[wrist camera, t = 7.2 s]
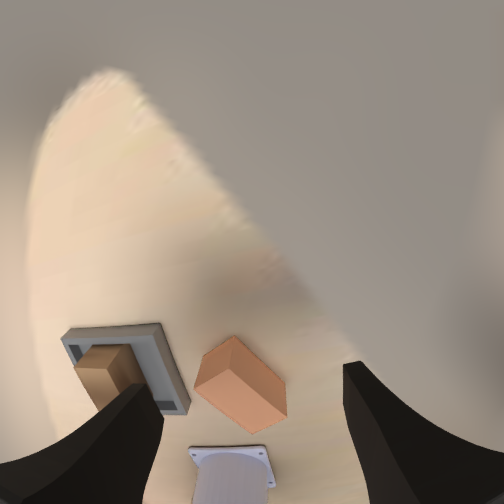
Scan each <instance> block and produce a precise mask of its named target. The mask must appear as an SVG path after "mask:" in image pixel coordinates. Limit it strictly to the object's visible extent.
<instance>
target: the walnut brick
mask: <svg viewBox="0 0 504 504" xmlns="http://www.w3.org/2000/svg"><path fill="white" fill-rule="evenodd" d="M73 368H74V369H75V371H76V373H77V375H78V377H79V379H80V380H81V382H82V384H83V386H84V388H85V389H86V391H87V393H88V394H89V396H90V398H91V399H92V401H93V403H94V404H95V406H96V407H97V409H98V411H101V410H102V409H103V408H104V407H105V406H106V405H108V404H109V403H110V402H111V401H112V400H113V399H114V398H116V397H117V396H118V395H119V394H120V393H121V392H123V391H124V390H125V389H126V388H127V387H129V386H130V385H131V384H133V383H146V384H147V386H148V388H149V390H150V392H151V394H152V396H153V393H152V391H151V389H150V387H149V385H148V383H147V381H146V378H145V376H144V374H143V372H142V370H141V368H140V365H139V363H138V361H137V359H136V356H135V354H134V352H133V349H132V347H131V345H130V343H128V344H94V345H92V346H91V347H90V348H89V349H88V351H87V352H86V353H85V354H84V355H83V357H82V358H81V359H80V360H79V361H78V363H77V364H76V365H75V366H74V367H73Z"/></svg>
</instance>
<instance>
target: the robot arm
mask: <svg viewBox="0 0 504 504" xmlns="http://www.w3.org/2000/svg"><path fill="white" fill-rule="evenodd" d="M343 406H344V410H345V415H346V420H347V425H348V428H349V431H350V434H351V437H352V440H353V443H354V446H355V449H356V452H357V455H358V458H359V461H360V464H361V467H362V470H363V473H364V477H365V480H366V484H367V489H368V495H369V500H370V504H504V453H502V452H498V451H493V450H490V449H487V448H484V447H481V446H478V445H475V444H473V443H470V442H468V441H466V440H464V439H461V438H459V437H457V436H455V435H453V434H451V433H449V432H447V431H445V430H443V429H442V428H440V427H438V426H436V425H434V424H433V423H432V422H430V421H428V420H427V419H425V418H424V417H422V416H421V415H420V414H418V413H417V412H415V411H414V410H413V409H412V408H410V407H409V406H408V405H406V404H405V403H404V402H403V401H402V400H400V399H399V398H398V397H397V396H396V395H395V394H394V393H393V392H391V391H390V390H389V389H388V388H387V387H386V386H385V385H384V384H383V383H382V382H381V381H380V380H379V379H378V378H377V377H376V376H375V375H374V374H373V373H372V372H371V371H370V370H369V369H368V368H367V367H366V366H365V364H364V363H363V362H361V361H356V362H351V363H347V364H343ZM163 424H164V417H163V415H162V414H161V412H160V410H159V408H158V406H157V404H156V402H155V400H154V398H153V396H152V394H151V392H150V390H149V388H148V386H147V384H146V383H133V384H131V385H130V386H129V387H127V388H126V389H125V390H124V391H123V392H121V393H120V394H119V395H118V396H117V397H116V398H114V399H113V400H112V401H111V402H110V403H109V404H108V405H106V406H105V407H104V408H103V409H102V410H101V411H99V412H98V413H97V414H96V415H95V416H93V417H92V418H91V419H90V420H88V421H87V422H86V423H84V424H83V425H82V426H81V427H79V428H78V429H77V430H75V431H74V432H72V433H71V434H69V435H68V436H66V437H65V438H63V439H62V440H60V441H58V442H57V443H55V444H53V445H51V446H49V447H47V448H45V449H43V450H41V451H39V452H37V453H34V454H32V455H29V456H26V457H24V458H21V459H18V460H14V461H11V462H6V463H2V464H0V504H142V500H143V494H144V490H145V486H146V483H147V480H148V477H149V474H150V471H151V468H152V465H153V462H154V459H155V456H156V453H157V450H158V447H159V444H160V441H161V436H162V430H163ZM188 453H189V454H190V456H191V457H192V459H193V461H194V462H195V464H196V466H197V467H198V469H199V471H198V476H197V481H196V486H195V491H194V496H193V501H192V504H268V488H273V487H276V481H275V478H274V475H273V471H272V468H271V465H270V462H269V458H268V455H267V451H266V448H265V447H264V446H249V447H224V448H196V447H191V448H189V449H188Z"/></svg>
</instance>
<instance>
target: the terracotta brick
mask: <svg viewBox="0 0 504 504" xmlns="http://www.w3.org/2000/svg"><path fill="white" fill-rule="evenodd" d="M193 390H195V391H196V392H197V393H198V394H199V395H201V396H202V397H203V398H204V399H206V400H207V401H208V402H209V403H211V404H212V405H213V406H214V407H216V408H217V409H218V410H220V411H221V412H222V413H224V414H225V415H226V416H228V417H229V418H230V419H232V420H233V421H234V422H236V423H237V424H238V425H240V426H241V427H243V428H244V429H245V430H247V431H248V432H250V433H251V434H254V433H256V432H258V431H261V430H263V429H265V428H267V427H269V426H271V425H273V424H275V423H277V422H279V421H281V420H283V419H285V418H287V405H286V391H285V383H284V382H283V381H282V380H281V379H280V378H279V377H278V376H277V375H276V374H275V373H274V372H272V371H271V370H270V369H269V368H268V367H267V366H266V365H265V364H264V363H263V362H262V361H261V360H260V359H259V358H257V357H256V356H255V355H254V354H253V353H252V352H251V351H250V350H249V349H248V348H247V347H246V346H245V345H244V344H243V343H242V342H241V341H240V340H239V339H238V338H237V337H236V336H235V335H234V336H233V337H231V338H230V339H228V340H227V341H225V342H224V343H222V344H221V345H219V346H218V347H216V348H215V349H213V350H212V351H210V352H209V353H207V354H206V355H204V356H203V359H202V362H201V366H200V369H199V372H198V375H197V379H196V382H195V385H194V389H193Z"/></svg>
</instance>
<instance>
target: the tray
mask: <svg viewBox="0 0 504 504" xmlns="http://www.w3.org/2000/svg"><path fill="white" fill-rule="evenodd" d="M61 341H62V343H63V345H64V347H65V349H66V351H67V353H68V355H69V357H70V359H71V361H72V363H73V365H74V366H75V365H76V364H77V363H78V361H79V360H80V359H81V358H82V357H83V355H84V354H85V353H86V352H87V351H88V349H89V348H90V347H91V346H92V345H94V344H128V343H130V345H131V347H132V349H133V352H134V354H135V356H136V359H137V361H138V363H139V365H140V368H141V370H142V372H143V374H144V376H145V378H146V381H147V383H148V385H149V387H150V389H151V391H152V393H153V398H154V400H155V402H156V404H157V406H158V408H159V410H160V412H161V414H162V415H187V413H188V410H189V406H190V403H191V401H190V399H189V396H188V394H187V392H186V389H185V387H184V384H183V382H182V380H181V377H180V375H179V372H178V370H177V367H176V365H175V362H174V360H173V357H172V354H171V352H170V349H169V346H168V344H167V341H166V338H165V335H164V333H163V330H162V327H161V324H160V323H154V324H142V325H129V326H115V327H99V328H79V329H70V330H69V331H68V332H67V333H66V334H65V335H64V336H63V337H62V338H61Z"/></svg>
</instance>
